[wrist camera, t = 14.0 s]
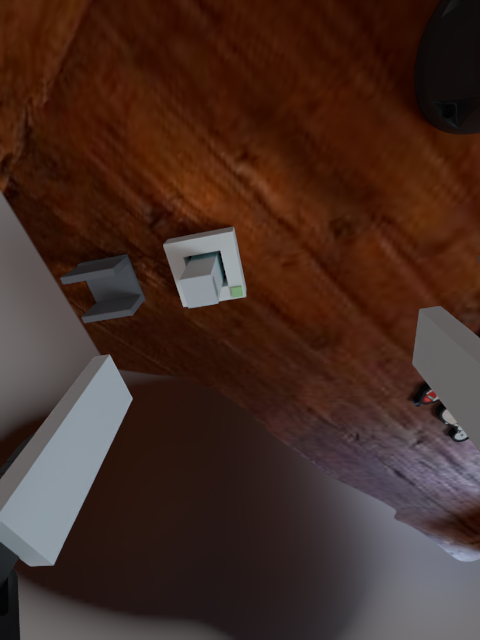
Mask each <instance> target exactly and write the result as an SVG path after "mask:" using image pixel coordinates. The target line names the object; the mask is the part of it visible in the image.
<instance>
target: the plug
mask: <svg viewBox="0 0 480 640" xmlns="http://www.w3.org/2000/svg"><path fill="white" fill-rule="evenodd" d="M223 278H224V271H223V267H222V263H221V259H220V255H219V251H214V252H209V253H203V254H198V255H193V256H192V258H191V260H190V261H189V263H188V265H187V267H186V269H185V270H184V272H183V274H182V276H181V278H180V279H179V281H180V284H181V287H182V290H183V293H184V297H185V300H186V303H187V306H188V308H193V307H200V306H206V305H212V304H218V302H219V297H220V292H221V288H222V283H223Z"/></svg>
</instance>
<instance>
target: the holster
mask: <svg viewBox="0 0 480 640" xmlns="http://www.w3.org/2000/svg"><path fill="white" fill-rule="evenodd" d="M60 279H61V281H62V283H63V284H69V283H74V282H80V281H85V280H86V282H87V284H88V286H89V288H90V290H91V292H92V294H93V296H94V298H95V300H96V302H97V303H96V304H95V305H94V306H93V307H91V308H90V309H89V310H88V311H87V312H86V313H85V314H84V315H83V316H82V317H81V318H82V320H83V321H84V323H87V322H94V321H100V320H106V319H112V318H118V317H124V316H130V315H133V314H134V313H135V312H136V310H137V309H138V307H139V306H140V305H141V303H142V302H144V301H145V298H144V295H143V293H142V290H141V288H140V285H139V283H138V280H137V278H136V275H135V273H134V270H133V268H132V265H131V263H130V260H129V258H128V255H127V254H124V255H119V256H114V257H109V258H103V259H98V260H93V261H88V262H83V263H79V264H78V266H77V267H76V268H74V269H73V270H71V271H70V272H68V273H67V274H65V275H64V276H62V277H61V278H60Z"/></svg>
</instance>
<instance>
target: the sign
mask: <svg viewBox="0 0 480 640" xmlns="http://www.w3.org/2000/svg"><path fill="white" fill-rule="evenodd" d="M478 337H479V338H480V335H479V336H478ZM412 401H413V403H414V404H415V406H417V407H418V406H421V405H422V404H430V403H435V402H437V401H440V399H439V398H438V397H437V395H436V394H435V393H434V391H433V390H432V389H431V388H430V386H429V385H428V384H427V383H426V384H424V385H423V386H422V387H420V390H419V392H418V393H417V395H416V397H415V398H413V399H412ZM436 414H437V416H438V417H439V419H440V420H441V421H442V422H443V423H444V424H446V425H448V426H451V427H453V428H451V429H450V430H449V432H448V434H449V435H450V437H451V438H452V440H453V441H455V442H463V441H465V440H467V439H469V437H468V436H467V435H466V433H465V432H464V431H463V429H462V428H461V427H460V425H459V424H458V423H457V422H456V420H455V419H454V418H453V416H452V415H451V414H450V412H449V411H448V410H447V408H446V407H445V406H444V405H443V403H441V404H440V405H439V406H438V407H437V408H436Z"/></svg>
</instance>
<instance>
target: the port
mask: <svg viewBox="0 0 480 640" xmlns="http://www.w3.org/2000/svg"><path fill="white" fill-rule="evenodd" d="M163 247H164V250H165V253H166V256H167V259H168V262H169V265H170V268H171V271H172V274H173V277H174V280H175V283H176V286H177V289H178V292H179V295H180V298H181V301H182V304H183V307H186V306H187V303H186V300H185V297H184V293H183V290H182V287H181V284H180V281H179V279H180V278H181V276H182V274H183V272H184V270H185V269H186V267H187V265H188V263H189V261H190V260H189V257H188V256H193V255H198V254H203V253H209V252H214V251H221V256H222V260H223V264H224V269H225V273H226V277H227V279H223V283H222V288H221V292H220V297H219V301H223V300H229V299H236V298H242V297H246V285H245V280H244V275H243V270H242V265H241V260H240V255H239V250H238V245H237V240H236V235H235V230H234V226H233V227H228V228H223V229H218V230H213V231H208V232H202V233H197V234H192V235H187V236H182V237H177V238H172V239H168V240H167V241H166V242H165V243H164V244H163Z"/></svg>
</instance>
